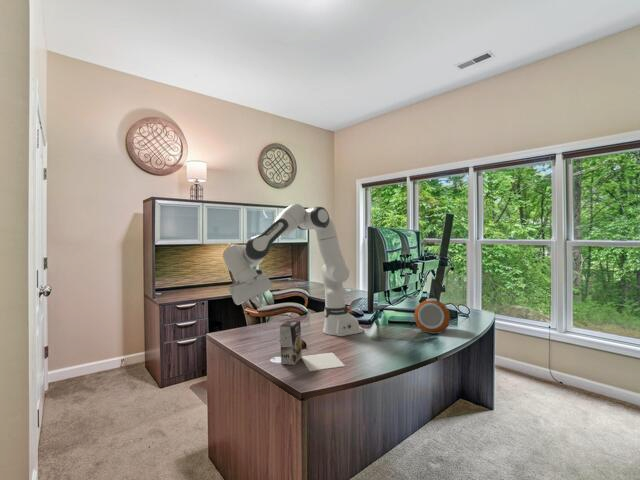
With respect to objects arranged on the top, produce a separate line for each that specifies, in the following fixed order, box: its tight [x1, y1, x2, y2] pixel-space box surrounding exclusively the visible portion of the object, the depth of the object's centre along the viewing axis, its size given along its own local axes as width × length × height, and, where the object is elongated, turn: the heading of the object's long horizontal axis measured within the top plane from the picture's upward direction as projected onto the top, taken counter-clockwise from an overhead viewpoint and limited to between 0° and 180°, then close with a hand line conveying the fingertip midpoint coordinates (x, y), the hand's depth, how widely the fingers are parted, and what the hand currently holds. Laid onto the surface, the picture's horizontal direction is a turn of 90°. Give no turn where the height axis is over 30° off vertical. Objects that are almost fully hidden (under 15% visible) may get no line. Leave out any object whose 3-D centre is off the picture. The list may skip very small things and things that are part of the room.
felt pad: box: [300, 352, 346, 372], centre depth 140 cm, size 15×16×1 cm
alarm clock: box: [413, 297, 451, 334], centre depth 184 cm, size 19×18×17 cm
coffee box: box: [279, 320, 303, 366], centre depth 141 cm, size 9×6×16 cm
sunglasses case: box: [278, 338, 307, 349], centre depth 164 cm, size 18×7×7 cm, turn 27°
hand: (261, 305), depth 144 cm, fingers closed
